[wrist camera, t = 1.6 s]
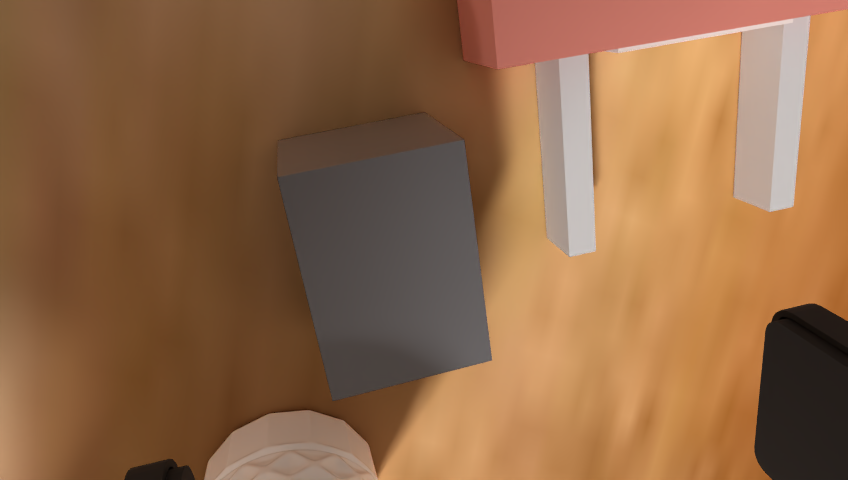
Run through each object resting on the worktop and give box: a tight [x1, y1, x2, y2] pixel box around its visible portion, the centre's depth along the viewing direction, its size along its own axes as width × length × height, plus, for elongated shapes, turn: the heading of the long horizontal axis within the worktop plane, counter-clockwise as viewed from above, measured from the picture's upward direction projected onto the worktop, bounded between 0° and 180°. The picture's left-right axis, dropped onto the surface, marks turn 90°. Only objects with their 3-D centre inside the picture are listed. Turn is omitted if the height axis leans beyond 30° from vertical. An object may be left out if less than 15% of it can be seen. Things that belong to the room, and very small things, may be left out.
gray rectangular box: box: [277, 112, 492, 401], centre depth 20 cm, size 7×5×5 cm
